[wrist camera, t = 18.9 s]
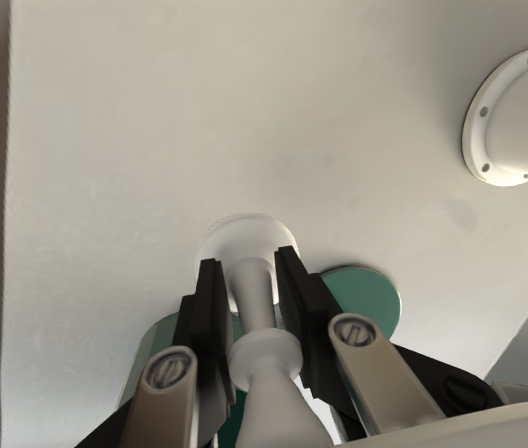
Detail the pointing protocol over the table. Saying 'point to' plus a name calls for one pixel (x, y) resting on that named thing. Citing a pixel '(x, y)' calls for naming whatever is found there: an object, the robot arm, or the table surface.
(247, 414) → the chess piece
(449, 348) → the table surface
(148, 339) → the pot
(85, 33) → the table surface
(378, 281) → the lid
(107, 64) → the table surface
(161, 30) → the table surface
